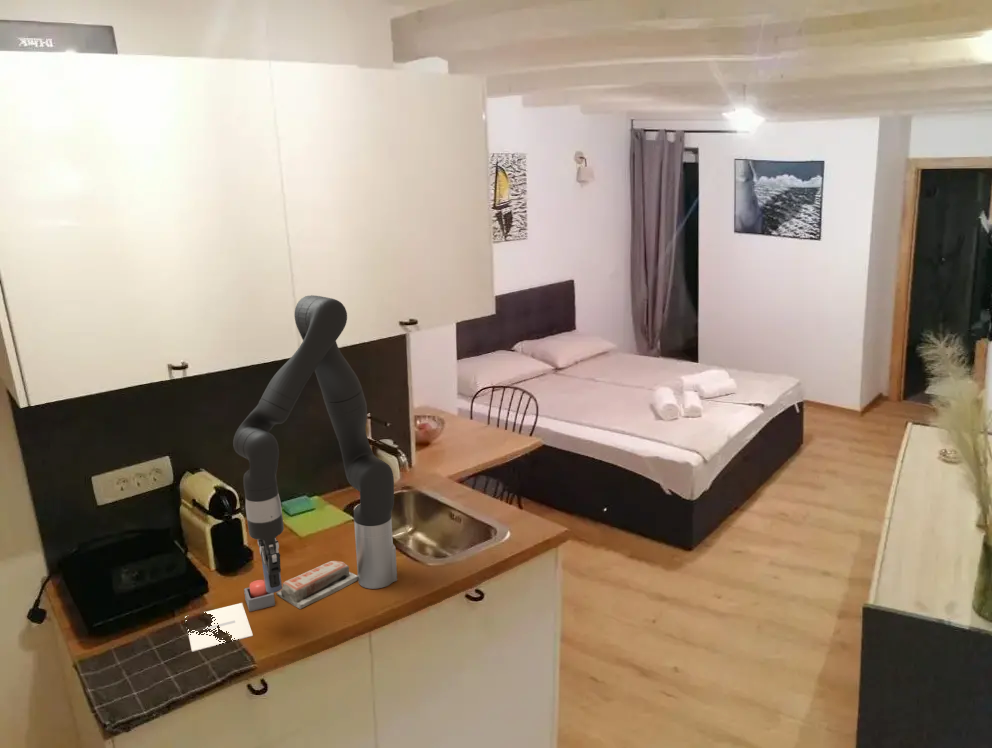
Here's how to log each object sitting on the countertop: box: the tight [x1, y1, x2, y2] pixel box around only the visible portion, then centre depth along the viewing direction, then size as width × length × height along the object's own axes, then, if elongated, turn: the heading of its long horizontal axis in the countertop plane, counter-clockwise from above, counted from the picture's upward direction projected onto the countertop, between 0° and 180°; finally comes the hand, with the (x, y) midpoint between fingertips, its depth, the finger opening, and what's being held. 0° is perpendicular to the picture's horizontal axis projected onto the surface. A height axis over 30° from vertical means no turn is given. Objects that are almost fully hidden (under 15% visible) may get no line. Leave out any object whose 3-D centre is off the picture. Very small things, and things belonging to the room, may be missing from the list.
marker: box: [260, 554, 283, 593], centre depth 178 cm, size 4×4×9 cm
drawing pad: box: [184, 602, 254, 653], centre depth 181 cm, size 13×15×1 cm
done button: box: [249, 579, 268, 598], centre depth 190 cm, size 4×4×3 cm
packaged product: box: [275, 560, 358, 610], centre depth 197 cm, size 18×5×10 cm
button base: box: [243, 586, 276, 613], centre depth 190 cm, size 6×6×3 cm
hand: (273, 581), depth 179 cm, fingers closed on marker, 3 cm apart
